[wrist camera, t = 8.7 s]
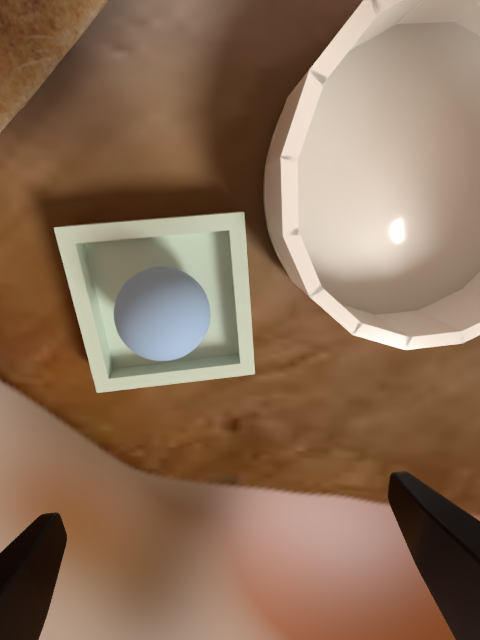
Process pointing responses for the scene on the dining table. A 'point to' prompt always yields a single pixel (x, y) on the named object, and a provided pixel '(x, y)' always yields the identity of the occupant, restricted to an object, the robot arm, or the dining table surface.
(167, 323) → the ball
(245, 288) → the tray
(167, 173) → the dining table surface
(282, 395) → the dining table surface
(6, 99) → the tan boot vase
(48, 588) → the robot arm
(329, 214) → the bowl
